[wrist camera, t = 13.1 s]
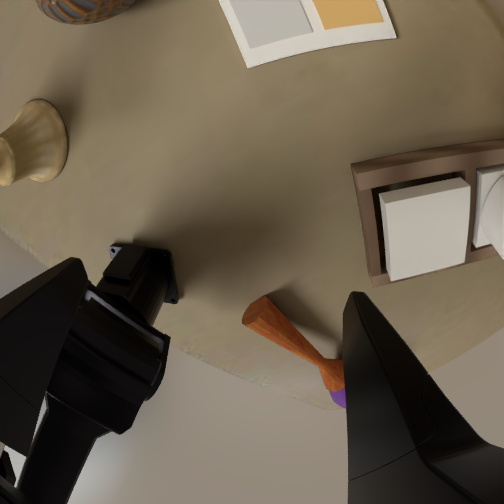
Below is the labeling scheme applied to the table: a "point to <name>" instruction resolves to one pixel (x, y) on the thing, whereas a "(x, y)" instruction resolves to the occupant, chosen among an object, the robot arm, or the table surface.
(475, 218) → the outer pad
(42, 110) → the hand bell
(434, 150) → the button board
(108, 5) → the vase
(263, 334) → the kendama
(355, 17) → the pattern card
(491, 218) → the can
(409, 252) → the inner pad
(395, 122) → the table surface
